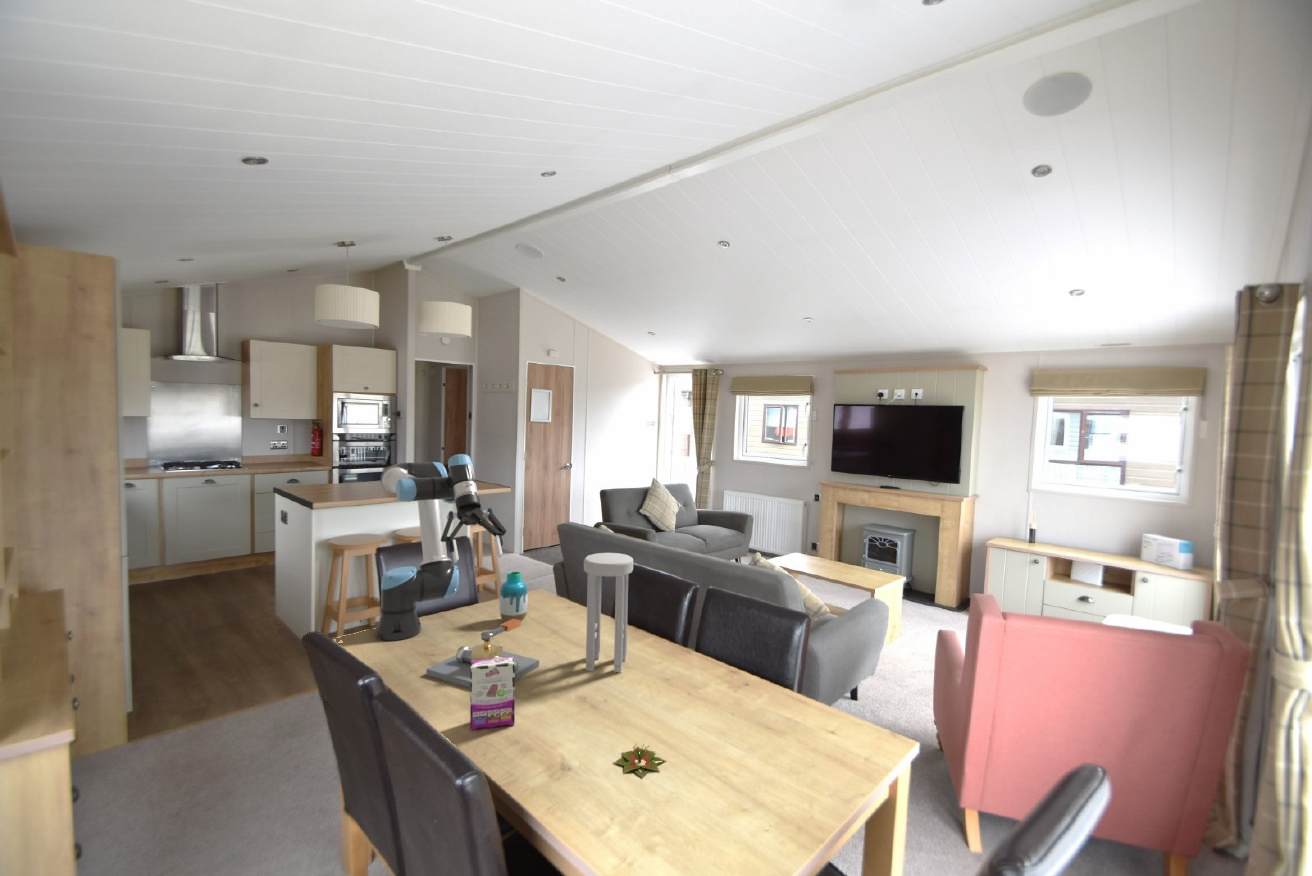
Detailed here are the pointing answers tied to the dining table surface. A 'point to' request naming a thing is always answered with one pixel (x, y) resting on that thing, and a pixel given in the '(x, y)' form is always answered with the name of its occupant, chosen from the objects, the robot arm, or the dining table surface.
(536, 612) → the dining table surface
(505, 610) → the vase
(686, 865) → the dining table surface
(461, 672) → the valve board
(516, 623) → the valve lever
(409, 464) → the robot arm
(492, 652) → the valve pipe
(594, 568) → the stool
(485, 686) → the candy bar box
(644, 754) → the lily flower
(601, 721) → the dining table surface
